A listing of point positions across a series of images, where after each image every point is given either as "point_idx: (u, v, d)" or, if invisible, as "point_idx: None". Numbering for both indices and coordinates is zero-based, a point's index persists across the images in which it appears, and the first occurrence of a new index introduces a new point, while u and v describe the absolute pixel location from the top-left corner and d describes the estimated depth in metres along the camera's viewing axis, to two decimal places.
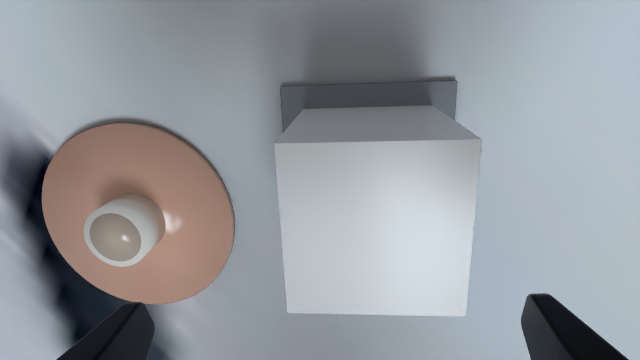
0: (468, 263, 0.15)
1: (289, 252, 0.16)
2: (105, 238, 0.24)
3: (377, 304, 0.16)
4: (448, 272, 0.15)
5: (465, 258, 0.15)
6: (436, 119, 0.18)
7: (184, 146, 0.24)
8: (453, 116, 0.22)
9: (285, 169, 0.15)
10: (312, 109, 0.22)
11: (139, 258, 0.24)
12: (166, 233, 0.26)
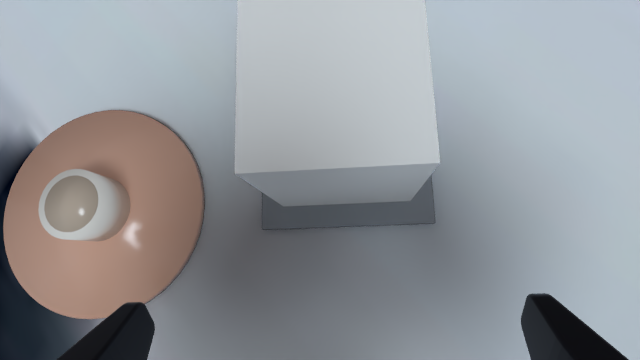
0: (432, 97, 0.14)
1: (242, 98, 0.15)
2: (60, 204, 0.22)
3: (337, 154, 0.14)
4: (412, 109, 0.14)
5: (427, 91, 0.14)
6: None
7: (166, 127, 0.25)
8: None
9: (245, 17, 0.16)
10: None
11: (89, 228, 0.21)
12: (128, 222, 0.24)
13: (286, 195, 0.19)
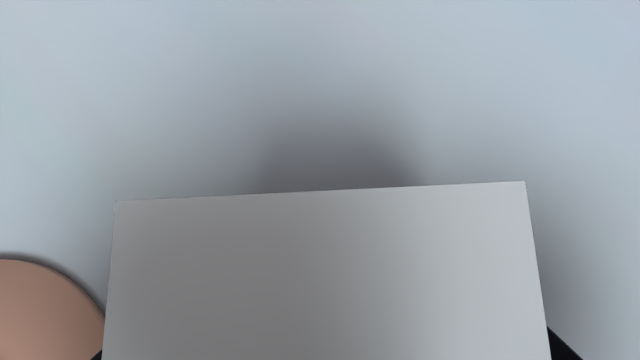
0: None
1: None
2: None
3: None
4: None
5: None
6: None
7: (73, 291, 0.16)
8: None
9: (129, 252, 0.07)
10: None
11: None
12: None
13: None
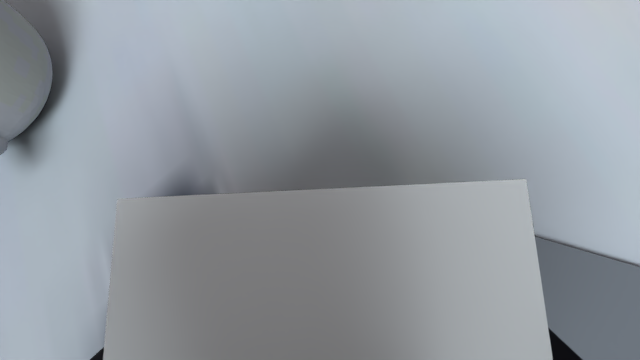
0: None
1: None
2: None
3: None
4: None
5: None
6: None
7: None
8: None
9: (130, 250, 0.07)
10: None
11: None
12: None
13: None
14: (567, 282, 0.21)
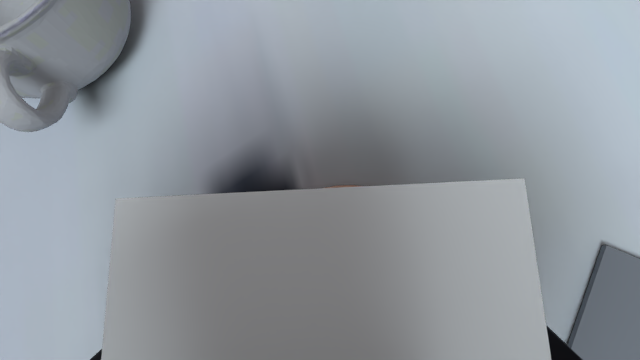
0: None
1: None
2: None
3: None
4: None
5: None
6: None
7: None
8: None
9: (129, 250, 0.07)
10: None
11: None
12: None
13: None
14: None
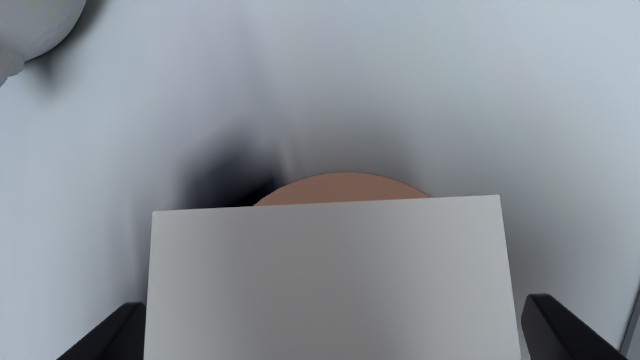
0: None
1: None
2: None
3: None
4: None
5: None
6: None
7: None
8: None
9: (165, 255, 0.08)
10: None
11: None
12: None
13: None
14: None
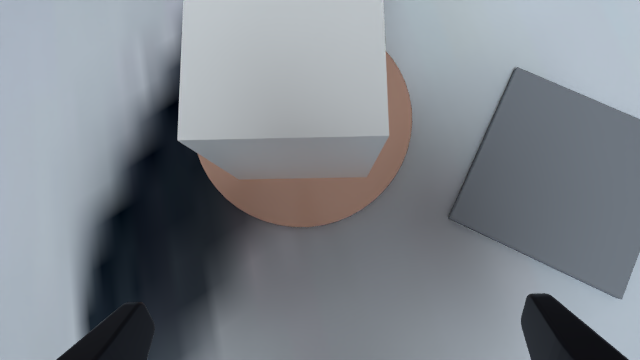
0: (384, 68, 0.14)
1: (188, 61, 0.14)
2: None
3: (286, 124, 0.14)
4: (363, 80, 0.14)
5: (380, 62, 0.14)
6: None
7: (399, 71, 0.23)
8: None
9: None
10: None
11: None
12: None
13: (238, 167, 0.19)
14: (574, 124, 0.23)
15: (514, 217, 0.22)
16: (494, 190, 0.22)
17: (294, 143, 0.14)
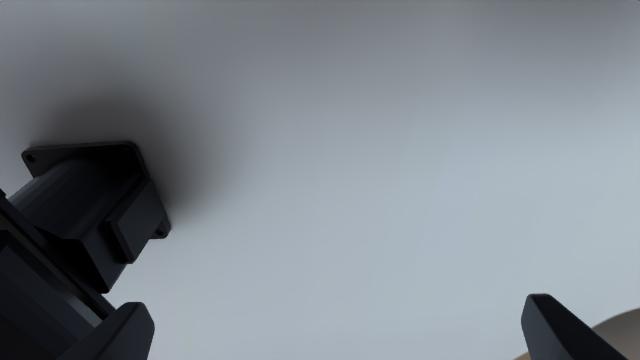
0: None
1: None
2: None
3: None
4: None
5: None
6: None
7: None
8: None
9: None
10: None
11: None
12: None
13: None
14: None
15: None
16: None
17: None
